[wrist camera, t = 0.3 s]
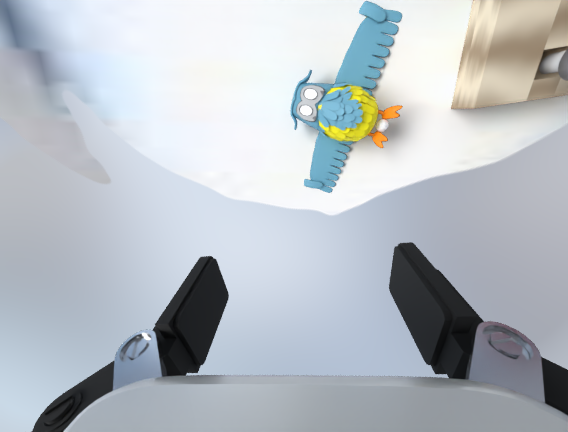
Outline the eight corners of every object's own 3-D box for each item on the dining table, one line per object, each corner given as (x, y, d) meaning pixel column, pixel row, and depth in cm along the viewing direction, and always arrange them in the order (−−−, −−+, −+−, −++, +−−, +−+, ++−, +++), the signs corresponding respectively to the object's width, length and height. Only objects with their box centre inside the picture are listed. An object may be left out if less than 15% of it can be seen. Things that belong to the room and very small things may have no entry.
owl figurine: (355, 216, 34) (268, 192, 33) (346, 197, 42) (275, 177, 41) (468, -12, 21) (329, -59, 20) (424, 21, 29) (322, -13, 28)
